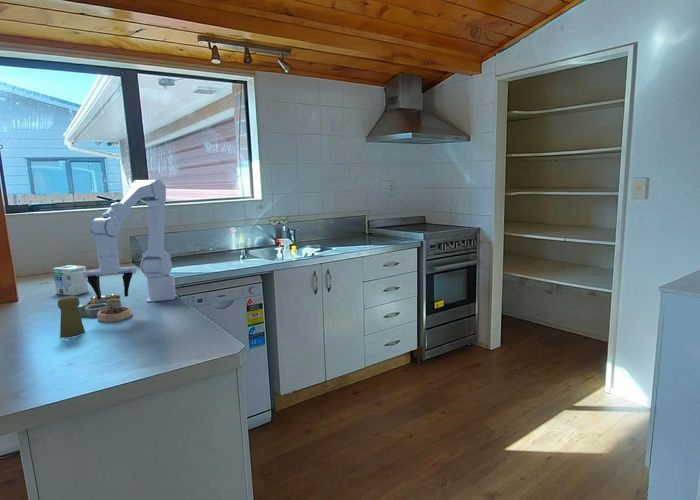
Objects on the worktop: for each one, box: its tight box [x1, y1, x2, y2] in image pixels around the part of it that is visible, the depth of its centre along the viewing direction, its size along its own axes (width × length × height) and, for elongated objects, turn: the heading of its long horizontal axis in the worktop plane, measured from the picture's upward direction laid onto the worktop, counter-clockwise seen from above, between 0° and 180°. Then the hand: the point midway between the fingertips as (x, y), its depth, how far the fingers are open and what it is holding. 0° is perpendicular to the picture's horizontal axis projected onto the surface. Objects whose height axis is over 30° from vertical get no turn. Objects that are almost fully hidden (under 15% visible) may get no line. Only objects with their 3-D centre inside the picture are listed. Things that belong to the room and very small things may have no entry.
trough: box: [83, 300, 107, 307], centre depth 150 cm, size 10×6×2 cm, turn 110°
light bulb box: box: [52, 264, 90, 296], centre depth 172 cm, size 11×7×11 cm, turn 68°
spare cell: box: [89, 294, 111, 304], centre depth 150 cm, size 7×4×4 cm, turn 110°
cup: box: [97, 305, 133, 323], centre depth 137 cm, size 9×9×2 cm
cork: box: [57, 295, 86, 339], centre depth 122 cm, size 6×6×11 cm
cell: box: [106, 293, 122, 314], centre depth 137 cm, size 4×4×7 cm
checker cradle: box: [78, 303, 107, 318], centre depth 141 cm, size 9×7×3 cm
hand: (113, 297), depth 137 cm, fingers open, 7 cm apart
